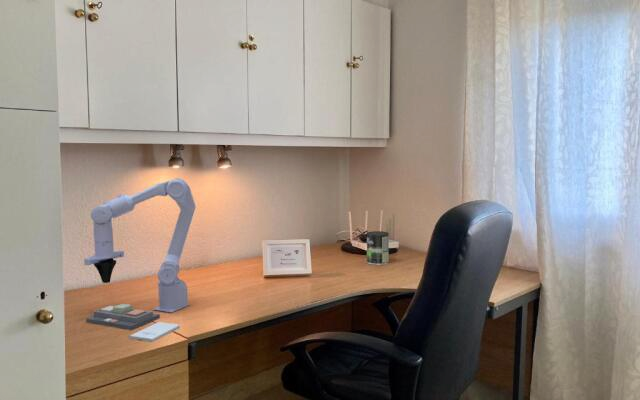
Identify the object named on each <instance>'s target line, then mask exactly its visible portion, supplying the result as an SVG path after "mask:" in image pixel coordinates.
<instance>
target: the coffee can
mask: <svg viewBox="0 0 640 400" xmlns="http://www.w3.org/2000/svg"><path fill="white" fill-rule="evenodd" d="M389 234H390V233H389V232H388V231H380V230H377V231H376V230H375V231H367V232H366V263H367V264H368V265H373V266H385V265H388V264H389V263H390V262H389V259H390V257H389V251H390V250H389V249H390V248H389V243H390V242H389V238H390V237H389Z"/></svg>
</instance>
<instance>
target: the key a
mask: <svg viewBox="0 0 640 400" xmlns="http://www.w3.org/2000/svg"><path fill="white" fill-rule="evenodd" d="M114 306H115V305H108V306H106V307H102V308H100V309H101V311H102V312H108V313H110V312H113V307H114Z"/></svg>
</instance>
